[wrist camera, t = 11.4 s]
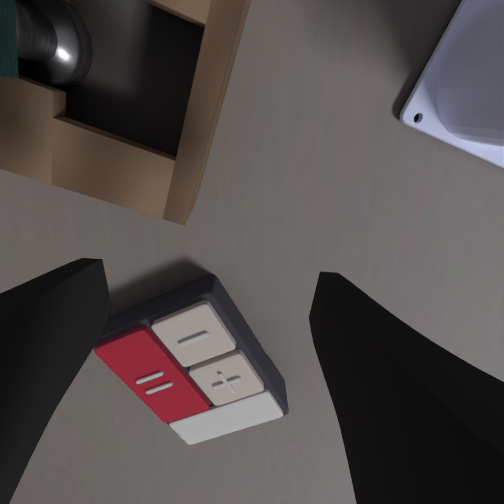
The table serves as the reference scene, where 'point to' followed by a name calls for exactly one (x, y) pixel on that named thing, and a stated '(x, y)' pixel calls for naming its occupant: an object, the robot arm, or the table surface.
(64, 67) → the peg
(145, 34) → the table surface
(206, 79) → the keyhole plate
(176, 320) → the calculator
